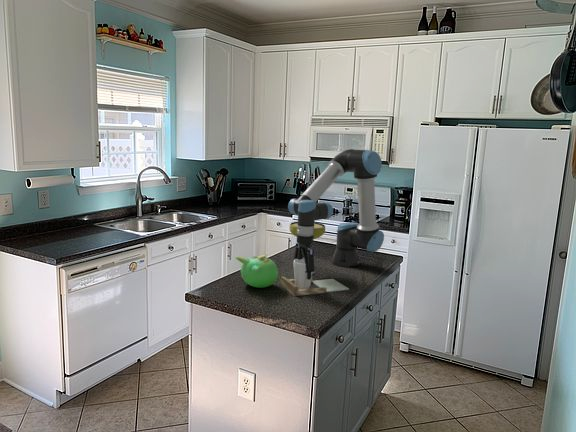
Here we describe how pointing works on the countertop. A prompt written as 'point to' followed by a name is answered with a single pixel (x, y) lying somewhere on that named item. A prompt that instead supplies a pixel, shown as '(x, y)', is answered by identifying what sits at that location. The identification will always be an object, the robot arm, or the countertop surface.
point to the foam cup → (300, 273)
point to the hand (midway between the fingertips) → (302, 282)
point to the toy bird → (258, 271)
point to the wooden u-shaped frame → (294, 290)
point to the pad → (330, 285)
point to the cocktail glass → (318, 231)
